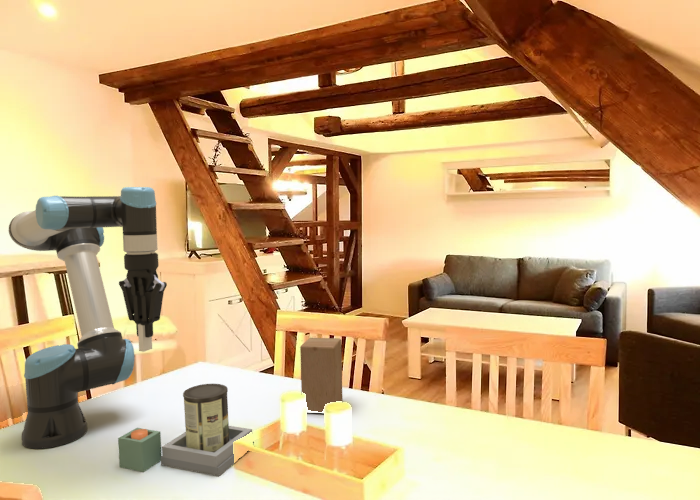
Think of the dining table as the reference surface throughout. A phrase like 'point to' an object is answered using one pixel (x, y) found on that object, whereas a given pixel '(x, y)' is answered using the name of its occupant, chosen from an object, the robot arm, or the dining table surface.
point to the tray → (201, 454)
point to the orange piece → (139, 434)
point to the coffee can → (206, 417)
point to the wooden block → (321, 372)
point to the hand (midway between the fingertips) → (145, 349)
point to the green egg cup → (140, 451)
